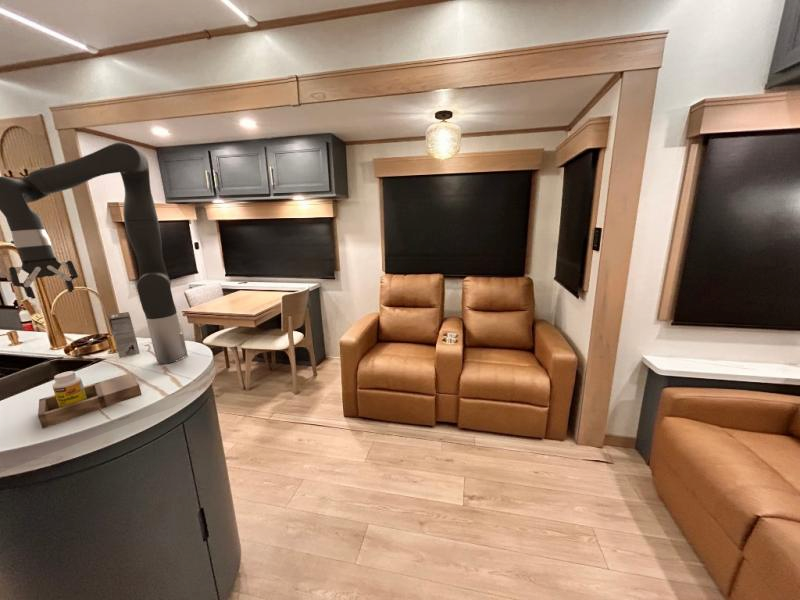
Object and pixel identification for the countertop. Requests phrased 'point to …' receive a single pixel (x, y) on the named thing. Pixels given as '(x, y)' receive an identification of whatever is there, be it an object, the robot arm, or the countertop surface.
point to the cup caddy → (89, 399)
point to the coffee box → (123, 334)
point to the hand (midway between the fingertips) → (52, 295)
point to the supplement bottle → (68, 389)
